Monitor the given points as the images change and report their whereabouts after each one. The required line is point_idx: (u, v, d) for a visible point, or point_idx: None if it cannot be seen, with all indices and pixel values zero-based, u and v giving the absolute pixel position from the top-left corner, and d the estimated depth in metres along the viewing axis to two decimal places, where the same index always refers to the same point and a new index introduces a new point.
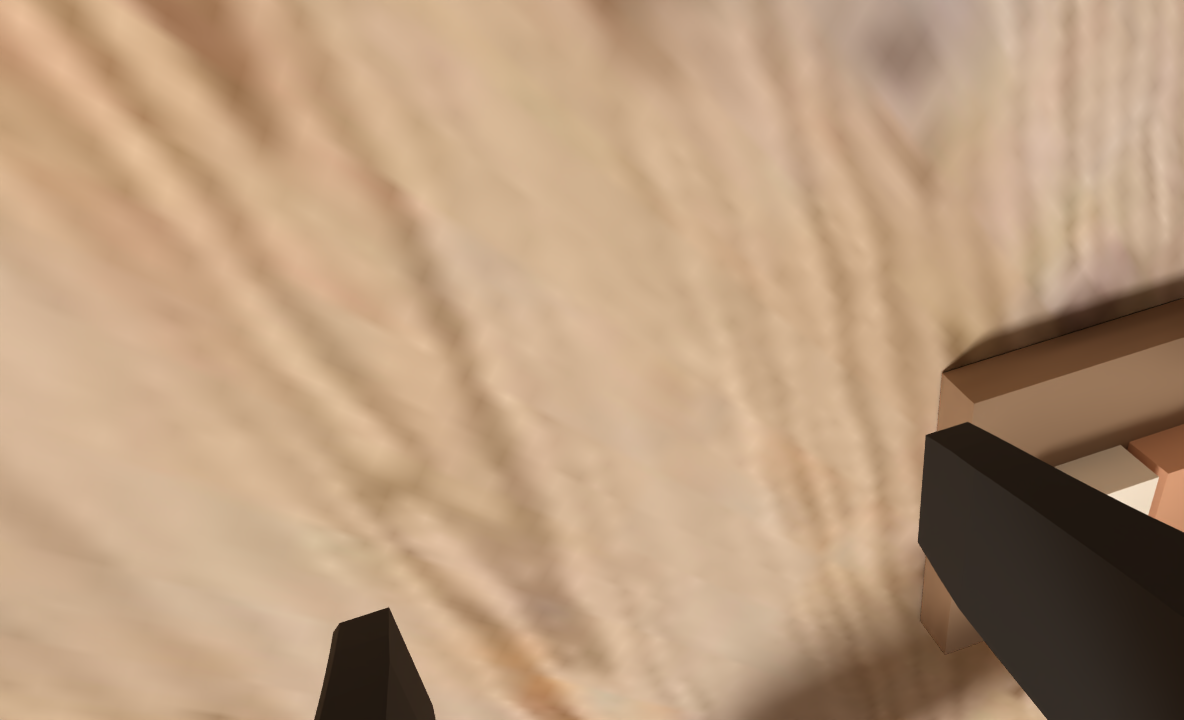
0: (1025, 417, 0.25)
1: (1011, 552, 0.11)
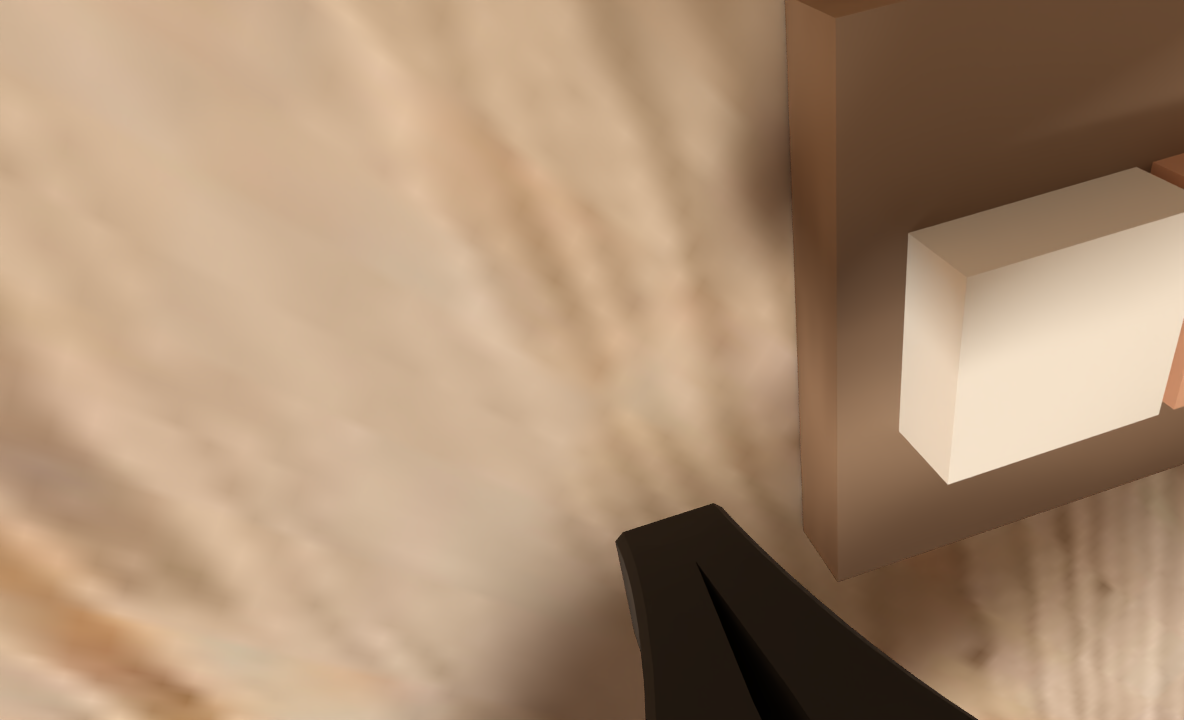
0: (946, 70, 0.13)
1: None
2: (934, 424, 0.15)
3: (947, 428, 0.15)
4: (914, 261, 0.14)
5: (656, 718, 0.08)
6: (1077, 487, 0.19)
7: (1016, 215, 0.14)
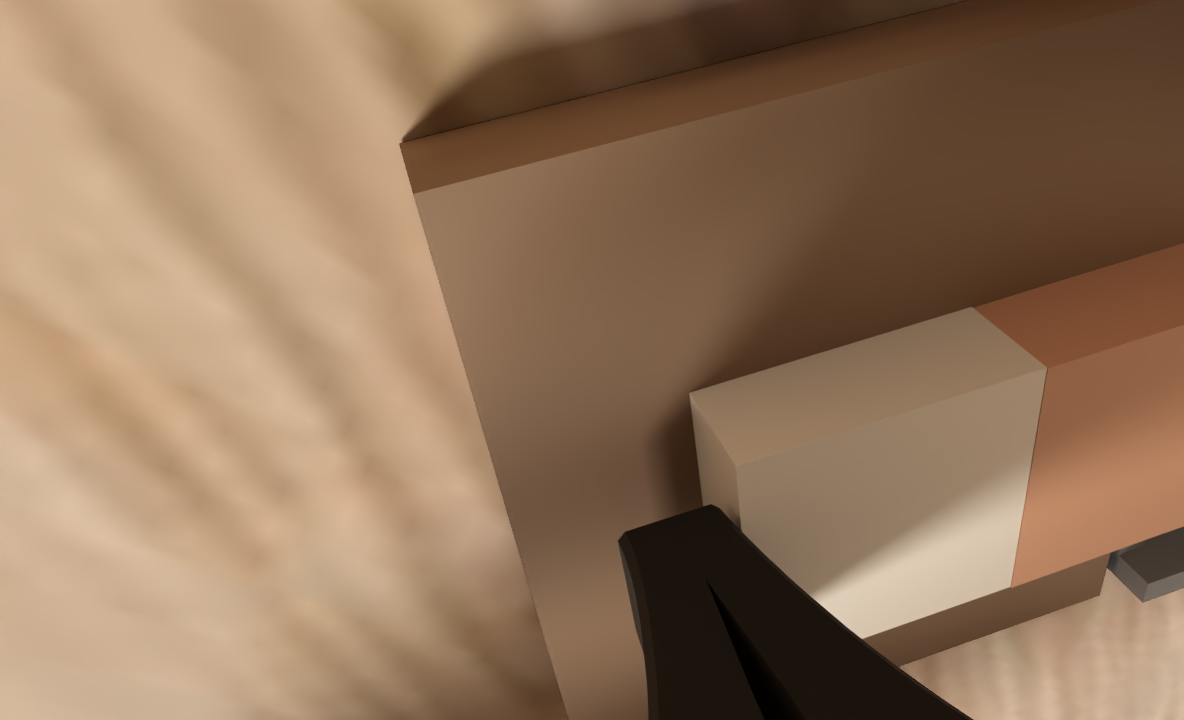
0: (588, 244, 0.10)
1: None
2: None
3: None
4: (697, 426, 0.12)
5: (659, 716, 0.08)
6: None
7: (818, 372, 0.11)
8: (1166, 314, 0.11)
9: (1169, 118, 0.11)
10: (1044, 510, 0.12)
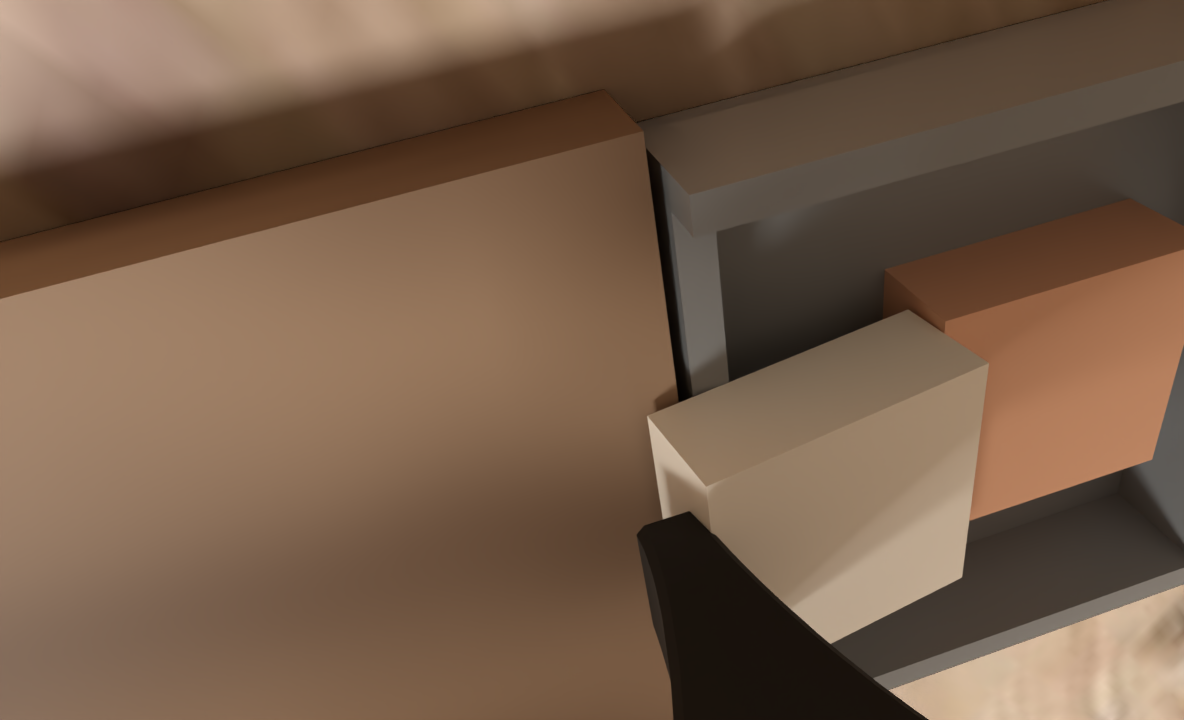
0: None
1: None
2: None
3: None
4: (657, 449, 0.12)
5: (683, 708, 0.08)
6: None
7: (771, 385, 0.12)
8: (1059, 273, 0.12)
9: (591, 277, 0.10)
10: None
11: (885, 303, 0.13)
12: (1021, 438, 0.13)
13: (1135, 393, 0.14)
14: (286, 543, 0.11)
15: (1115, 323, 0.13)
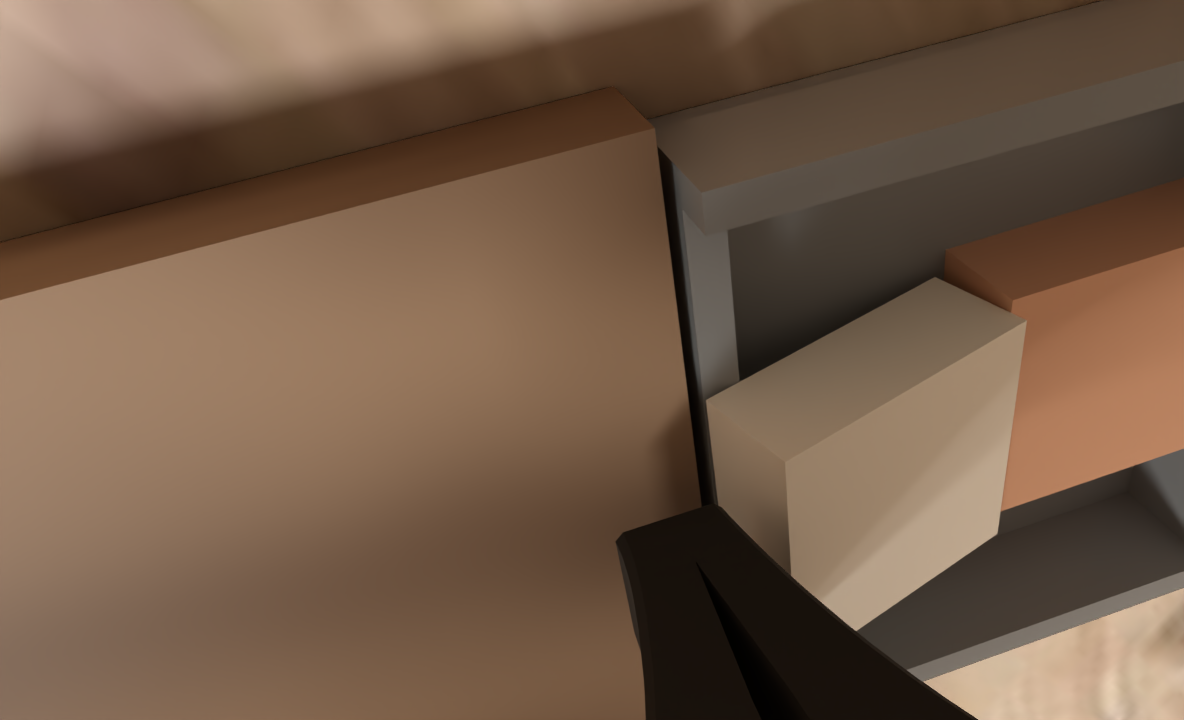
0: None
1: None
2: None
3: None
4: (717, 432, 0.12)
5: (655, 716, 0.08)
6: None
7: (822, 359, 0.12)
8: (1125, 251, 0.12)
9: (600, 275, 0.10)
10: (1014, 440, 0.13)
11: None
12: (1082, 418, 0.13)
13: None
14: (294, 544, 0.11)
15: (1180, 301, 0.13)
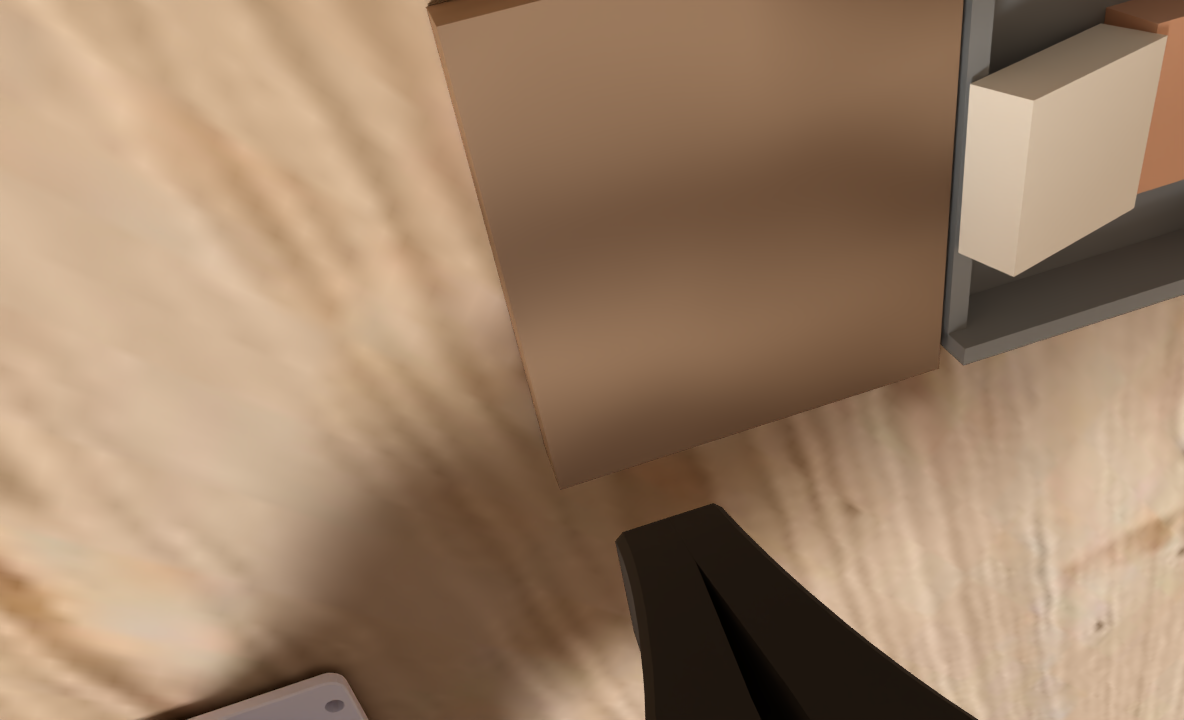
0: (544, 65, 0.16)
1: None
2: (998, 232, 0.20)
3: (1012, 230, 0.19)
4: (975, 105, 0.19)
5: (655, 718, 0.08)
6: (766, 411, 0.22)
7: (1039, 62, 0.19)
8: None
9: None
10: (1149, 135, 0.20)
11: None
12: None
13: None
14: (723, 169, 0.18)
15: None
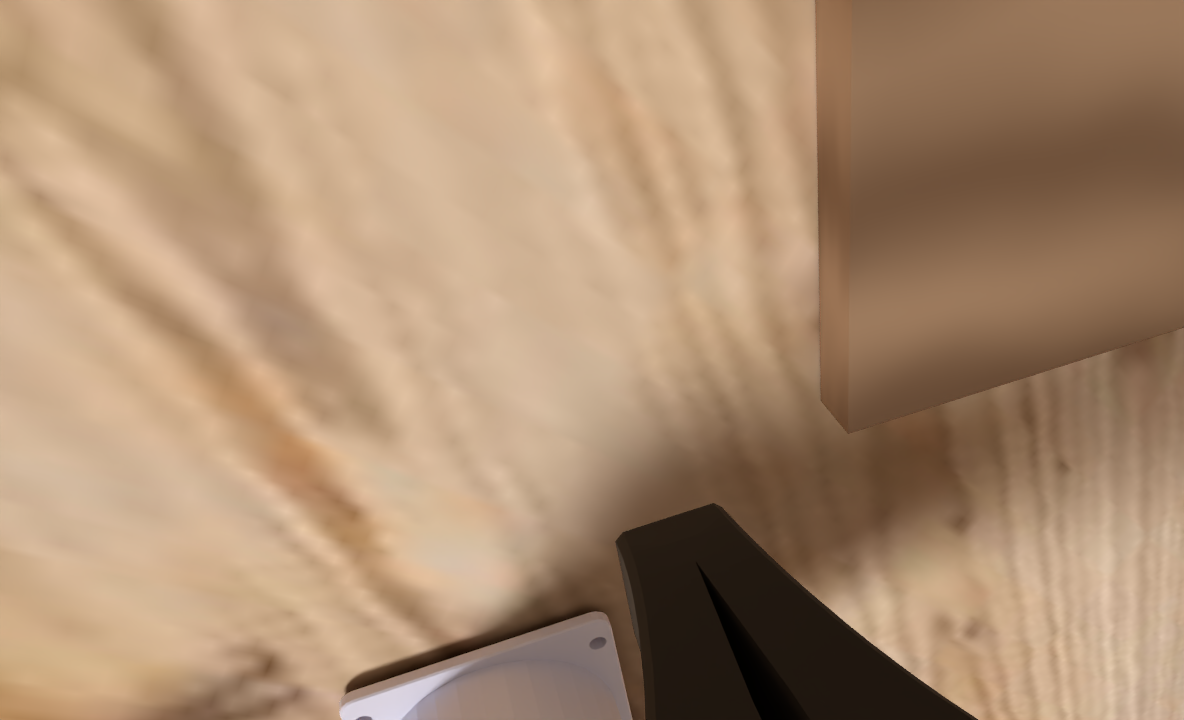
0: (929, 31, 0.18)
1: None
2: None
3: None
4: None
5: (655, 717, 0.08)
6: (1033, 363, 0.24)
7: None
8: None
9: None
10: None
11: None
12: None
13: None
14: (1050, 132, 0.20)
15: None
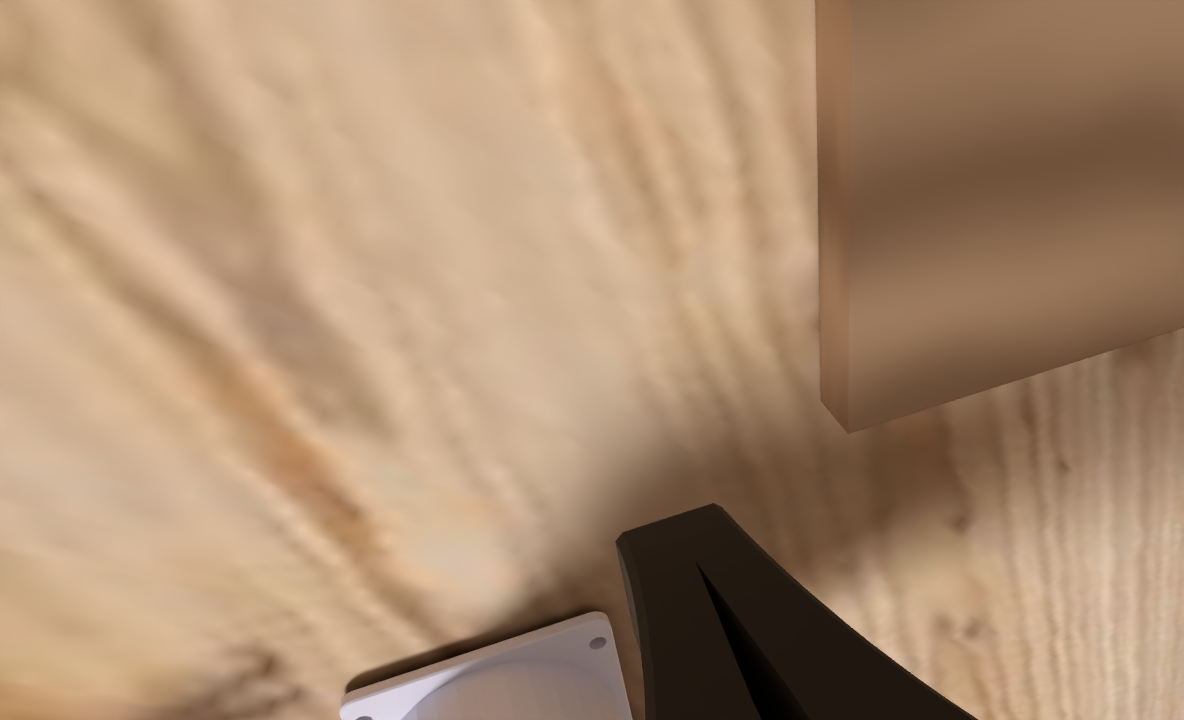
0: (929, 31, 0.18)
1: None
2: None
3: None
4: None
5: (655, 717, 0.08)
6: (1033, 363, 0.24)
7: None
8: None
9: None
10: None
11: None
12: None
13: None
14: (1050, 132, 0.20)
15: None
